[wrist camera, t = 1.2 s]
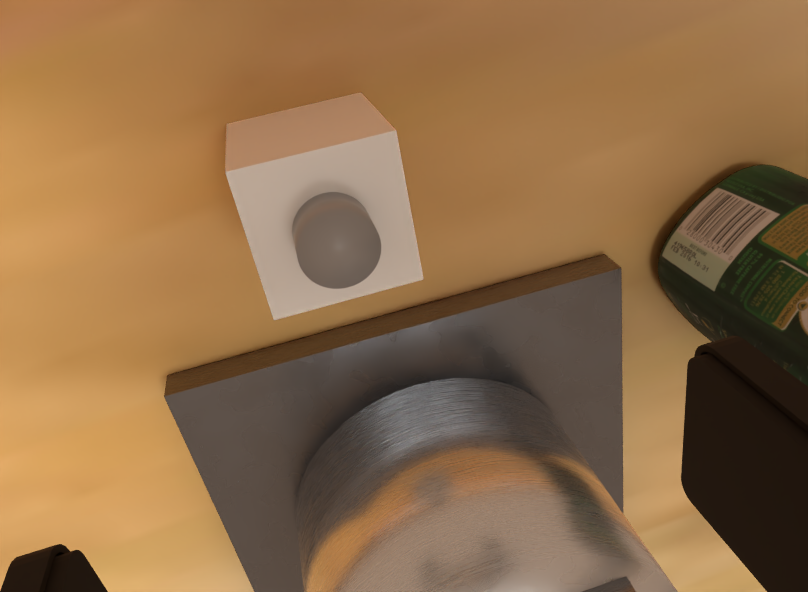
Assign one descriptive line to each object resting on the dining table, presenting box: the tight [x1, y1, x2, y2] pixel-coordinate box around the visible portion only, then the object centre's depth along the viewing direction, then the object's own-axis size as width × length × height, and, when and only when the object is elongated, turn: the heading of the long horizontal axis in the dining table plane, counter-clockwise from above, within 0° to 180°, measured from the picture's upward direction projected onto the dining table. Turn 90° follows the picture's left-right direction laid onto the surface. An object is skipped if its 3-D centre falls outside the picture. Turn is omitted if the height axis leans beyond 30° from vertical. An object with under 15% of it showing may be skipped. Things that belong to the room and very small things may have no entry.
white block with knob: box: [225, 92, 424, 320], centre depth 22 cm, size 5×5×8 cm
